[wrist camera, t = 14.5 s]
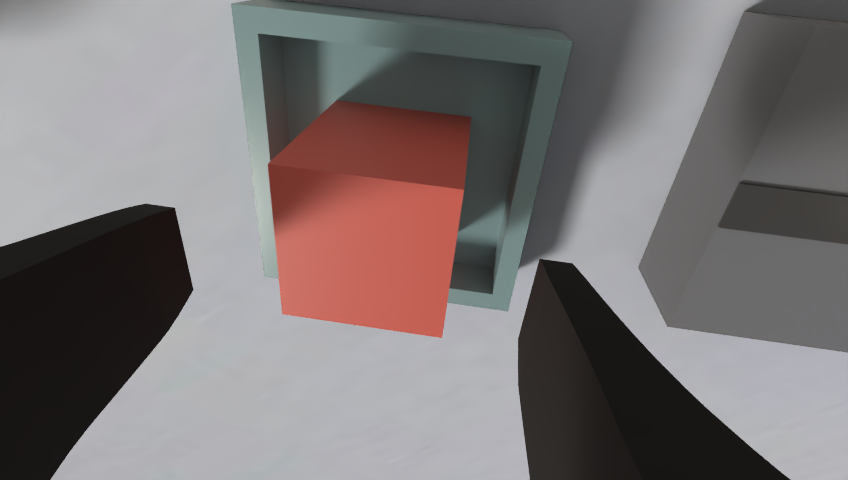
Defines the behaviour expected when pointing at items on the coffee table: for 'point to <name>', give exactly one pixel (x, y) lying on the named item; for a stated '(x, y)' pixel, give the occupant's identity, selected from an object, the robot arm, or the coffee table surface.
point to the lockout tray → (418, 90)
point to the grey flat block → (763, 193)
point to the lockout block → (370, 216)
